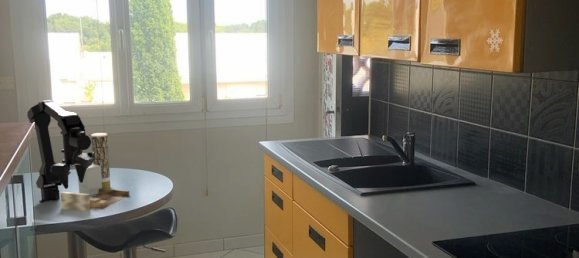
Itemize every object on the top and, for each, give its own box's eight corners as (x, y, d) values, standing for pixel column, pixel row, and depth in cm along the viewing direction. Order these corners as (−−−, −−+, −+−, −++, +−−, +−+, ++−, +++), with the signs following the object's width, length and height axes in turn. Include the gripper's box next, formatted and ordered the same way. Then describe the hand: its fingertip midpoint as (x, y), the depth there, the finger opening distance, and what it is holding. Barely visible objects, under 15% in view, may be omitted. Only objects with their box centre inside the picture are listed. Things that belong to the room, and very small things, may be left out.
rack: (72, 207, 238) (72, 201, 238) (101, 194, 257) (100, 188, 256) (102, 210, 234) (102, 204, 234) (129, 197, 253) (129, 190, 252)
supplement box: (103, 194, 257) (101, 165, 255) (87, 197, 252) (85, 168, 250) (94, 190, 262) (92, 163, 260) (78, 194, 257) (76, 166, 255)
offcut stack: (74, 205, 238) (73, 198, 238) (80, 202, 242) (79, 195, 242) (102, 208, 235) (101, 201, 234) (108, 205, 239) (107, 198, 238)
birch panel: (61, 209, 235) (60, 192, 234) (64, 208, 236) (63, 191, 235) (87, 212, 231) (86, 195, 230) (90, 211, 233) (89, 194, 232)
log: (105, 191, 261) (102, 136, 256) (91, 191, 262) (88, 135, 257) (113, 187, 267) (110, 133, 263) (99, 186, 268) (96, 132, 264)
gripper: (73, 152, 218) (76, 193, 221) (103, 142, 236) (105, 180, 238) (48, 151, 221) (51, 191, 224) (79, 141, 239) (82, 179, 242)
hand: (74, 185), depth 232 cm, fingers open, 9 cm apart
